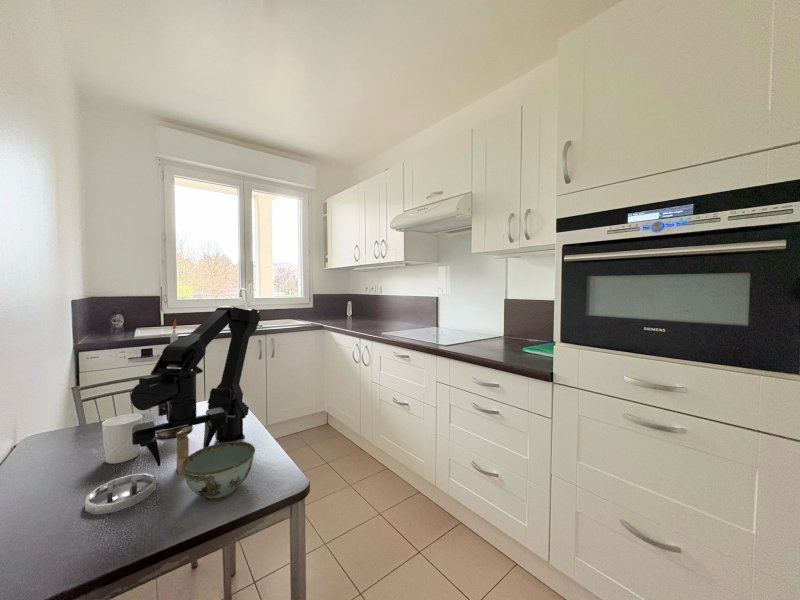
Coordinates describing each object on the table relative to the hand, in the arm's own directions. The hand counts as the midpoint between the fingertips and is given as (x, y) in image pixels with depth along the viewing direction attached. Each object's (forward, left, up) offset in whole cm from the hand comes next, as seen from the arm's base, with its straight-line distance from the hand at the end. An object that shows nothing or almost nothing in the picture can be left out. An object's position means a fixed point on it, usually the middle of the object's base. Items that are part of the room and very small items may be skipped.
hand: (182, 458), depth 77 cm
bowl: (-5, +16, -3) cm, 17 cm away
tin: (+11, +4, -2) cm, 12 cm away
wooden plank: (0, 0, -2) cm, 2 cm away
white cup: (+11, -17, -3) cm, 20 cm away
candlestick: (-1, -26, -3) cm, 26 cm away
